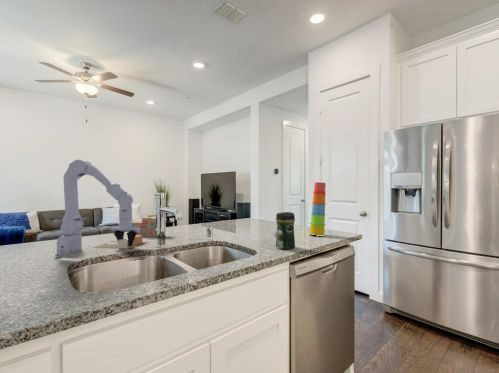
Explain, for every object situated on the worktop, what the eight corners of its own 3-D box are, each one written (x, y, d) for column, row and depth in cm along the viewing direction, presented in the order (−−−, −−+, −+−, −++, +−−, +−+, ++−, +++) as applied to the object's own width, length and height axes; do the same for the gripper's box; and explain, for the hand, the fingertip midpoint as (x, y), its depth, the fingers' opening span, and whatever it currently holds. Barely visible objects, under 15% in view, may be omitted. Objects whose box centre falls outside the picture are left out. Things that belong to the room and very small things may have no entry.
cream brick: (126, 248, 124) (127, 240, 123) (118, 248, 124) (118, 240, 124) (132, 246, 128) (132, 238, 128) (124, 245, 129) (124, 238, 129)
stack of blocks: (127, 237, 155) (127, 217, 155) (133, 235, 162) (133, 216, 161) (161, 238, 153) (161, 218, 153) (165, 236, 160) (165, 216, 159)
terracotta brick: (137, 244, 132) (137, 236, 132) (129, 244, 133) (129, 236, 133) (142, 242, 136) (142, 235, 136) (134, 242, 137) (134, 234, 137)
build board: (132, 251, 122) (132, 248, 122) (93, 249, 126) (93, 246, 126) (149, 244, 137) (149, 241, 137) (114, 242, 140) (114, 240, 140)
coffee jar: (287, 245, 138) (287, 211, 138) (297, 248, 131) (297, 212, 131) (273, 247, 132) (273, 212, 132) (283, 250, 126) (283, 213, 126)
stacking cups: (315, 233, 172) (315, 182, 172) (328, 235, 164) (328, 182, 164) (305, 235, 166) (306, 182, 166) (319, 237, 158) (319, 182, 158)
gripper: (143, 218, 129) (143, 244, 129) (117, 217, 131) (117, 243, 131) (135, 220, 122) (135, 248, 122) (108, 219, 124) (108, 246, 124)
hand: (125, 246), depth 126 cm, fingers closed on cream brick, 5 cm apart
